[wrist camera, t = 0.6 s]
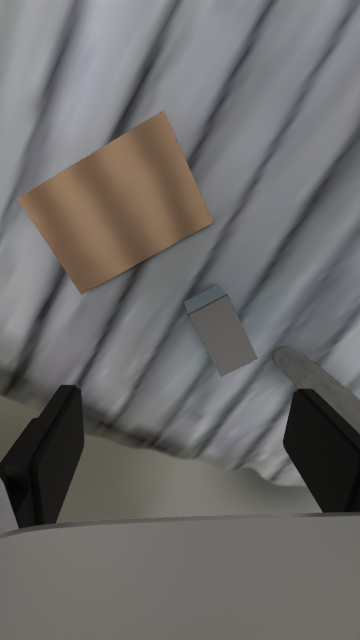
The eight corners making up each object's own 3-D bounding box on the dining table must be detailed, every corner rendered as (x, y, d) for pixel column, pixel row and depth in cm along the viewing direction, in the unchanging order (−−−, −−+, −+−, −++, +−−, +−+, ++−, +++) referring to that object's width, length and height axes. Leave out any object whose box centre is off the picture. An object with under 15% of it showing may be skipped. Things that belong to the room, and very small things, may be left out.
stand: (163, 123, 29) (163, 110, 26) (208, 223, 32) (213, 222, 29) (31, 202, 30) (17, 198, 27) (88, 289, 34) (81, 294, 31)
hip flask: (268, 357, 39) (370, 472, 20) (287, 338, 38) (413, 438, 19) (334, 409, 42) (473, 547, 23) (352, 392, 42) (512, 521, 23)
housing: (215, 284, 35) (228, 295, 28) (241, 337, 37) (257, 358, 31) (183, 301, 35) (188, 315, 29) (210, 352, 38) (220, 376, 31)
